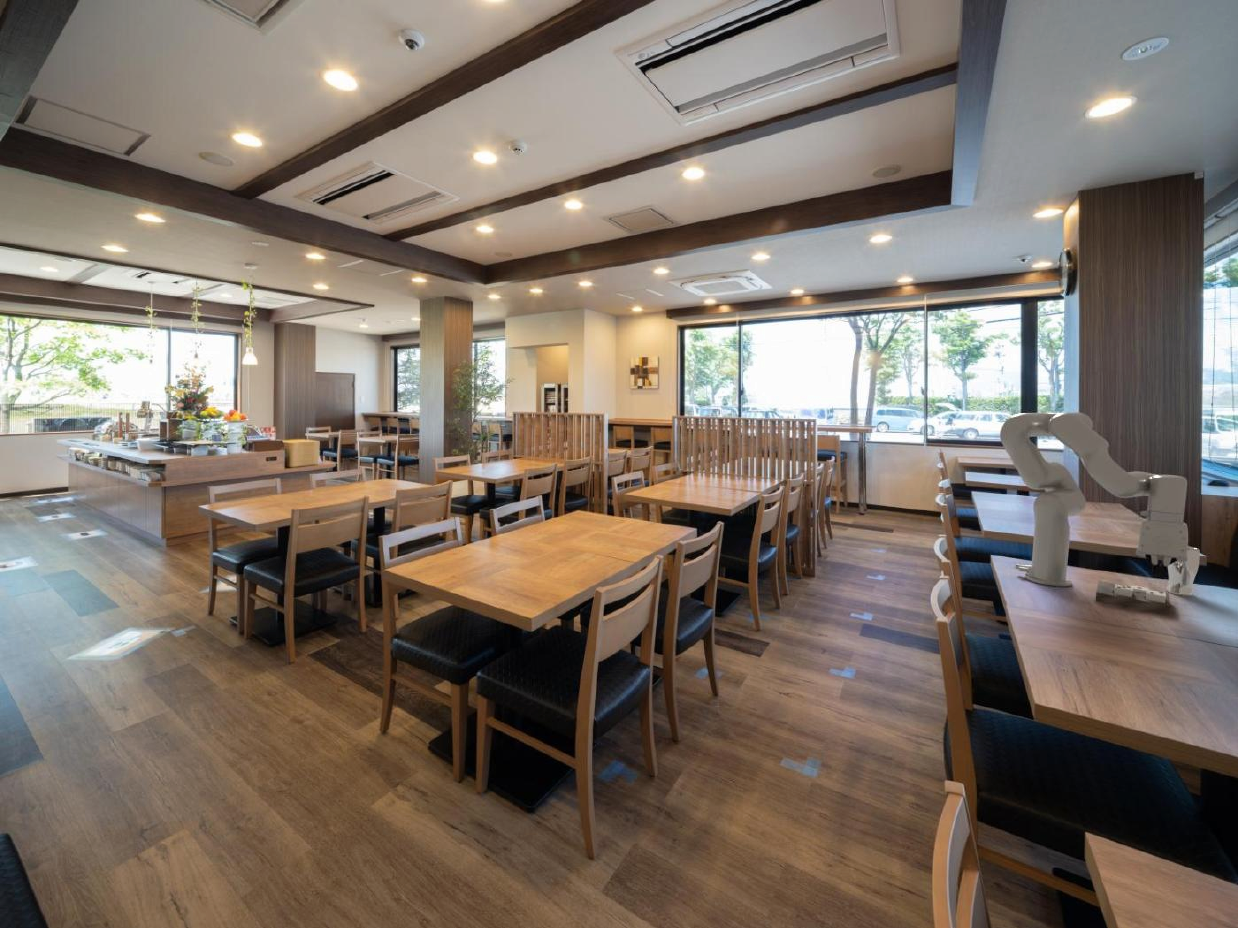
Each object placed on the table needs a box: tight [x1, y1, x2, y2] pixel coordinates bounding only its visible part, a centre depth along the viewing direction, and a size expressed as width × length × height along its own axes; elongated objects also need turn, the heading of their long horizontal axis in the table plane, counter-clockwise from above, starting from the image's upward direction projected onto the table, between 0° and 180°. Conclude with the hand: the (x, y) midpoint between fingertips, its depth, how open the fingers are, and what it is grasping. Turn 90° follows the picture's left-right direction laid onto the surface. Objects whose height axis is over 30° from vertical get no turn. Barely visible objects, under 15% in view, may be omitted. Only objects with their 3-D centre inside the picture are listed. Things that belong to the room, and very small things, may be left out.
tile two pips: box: [1146, 589, 1167, 603], centre depth 157 cm, size 4×4×3 cm
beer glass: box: [1165, 546, 1201, 597], centre depth 169 cm, size 7×7×15 cm
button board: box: [1095, 581, 1171, 616], centre depth 163 cm, size 16×14×3 cm
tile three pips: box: [1114, 583, 1133, 597], centre depth 162 cm, size 4×4×3 cm
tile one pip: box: [1130, 585, 1149, 593], centre depth 165 cm, size 4×4×3 cm
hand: (1158, 577), depth 156 cm, fingers closed
